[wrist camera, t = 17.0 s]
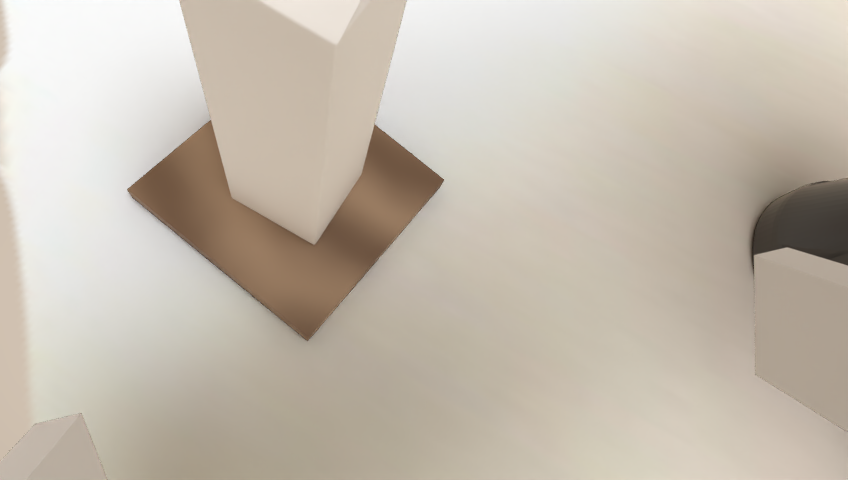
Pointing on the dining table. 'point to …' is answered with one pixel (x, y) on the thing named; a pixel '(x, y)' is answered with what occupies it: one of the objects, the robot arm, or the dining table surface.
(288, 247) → the walnut board
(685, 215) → the dining table surface
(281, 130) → the milk
